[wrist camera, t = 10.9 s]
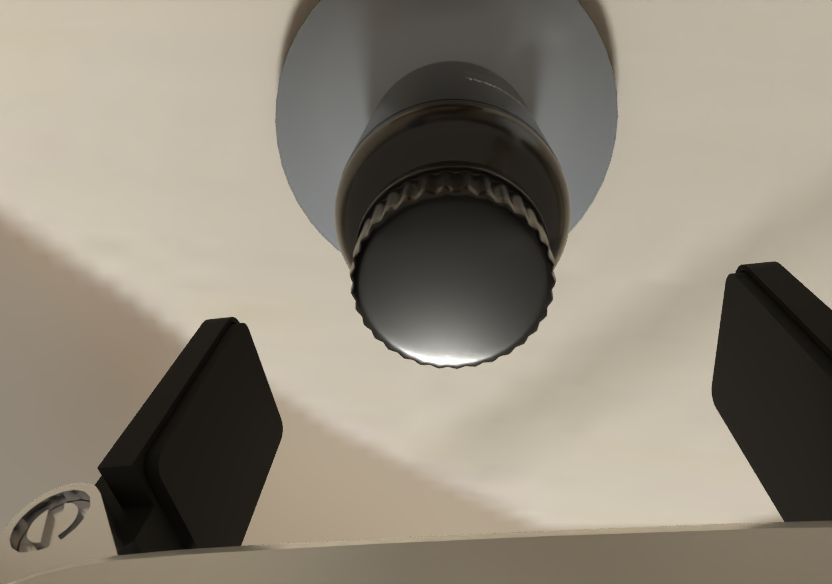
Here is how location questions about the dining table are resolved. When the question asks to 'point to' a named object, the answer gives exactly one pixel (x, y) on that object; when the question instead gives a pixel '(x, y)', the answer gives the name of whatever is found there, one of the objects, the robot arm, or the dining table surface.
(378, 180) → the supplement bottle
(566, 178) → the plate
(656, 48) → the dining table surface
